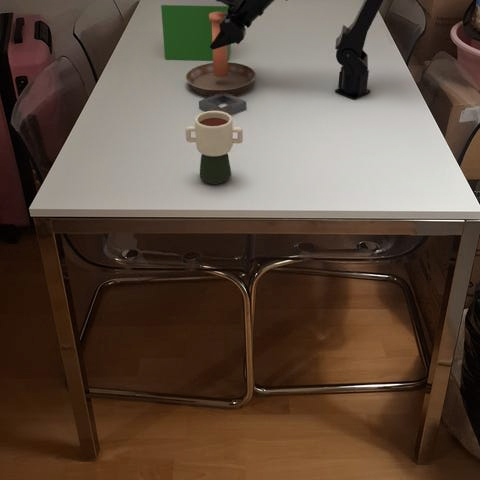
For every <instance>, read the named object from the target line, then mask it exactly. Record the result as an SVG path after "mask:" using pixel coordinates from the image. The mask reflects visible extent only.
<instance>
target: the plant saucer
mask: <svg viewBox="0 0 480 480" xmlns="http://www.w3.org/2000/svg"><path fill="white" fill-rule="evenodd" d="M255 78H256V72H255V70H254V69H252V68H251V67H249V66H247V65H245V64H241V63H237V62H230V61H228V75H227V76H225V77H216V76H214V70H213V62H209V63H205V64H201V65H197V66H195V67H193V68H191V69H190V70H189V71H187V73H186V76H185V80H186V81H187V83H188V85H189V86H190V87H191V88H192V89H193V90H195V91H196V92H197V93H198V94H199V93H200V94H202V95H204V96H209V97H211V96H214V95H216V94H219V93H222V92H226V93H228V94H231V95H233V96H235V95H238V94H240V93H242V92H245V90H247V89H248V88H249V87H250V86H251V85H252V83H253V82H254V80H255Z"/></svg>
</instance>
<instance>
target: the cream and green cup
mask: <svg viewBox="0 0 480 480" xmlns="http://www.w3.org/2000/svg"><path fill="white" fill-rule="evenodd" d="M191 132H195V137H192V134H191ZM243 132H244V131H243V128H241V127H238V126H237V127H235V126H234V127H233V118H232V115H231V116H230V115H229V114H228V113H225V112H222V111H207V112H205V111H203V112H201V113H199V114H197V115H196V116H195V118H194V126H191V125H190V126H185V141H186V142H187V143H195V146H196V149H197V151H198V152H199V153H200V154H201V155H200V164H199V177H200V179H201V180H202V181H203V182H206V183H208V184H211V185H212V184H216V185H218V184H219V185H220V184H221V183H222V184H223V183H225V182H226V181H227V180H229V179H230V178H231V176H232V171H231V170H232V169H231V164H230V159H229V158H230V157H229V154H228V153H230V152H231V150H232V147H233V145H234V144H237V145H238V144H243V141H244V139H243V138H244V136H243V135H244V134H243ZM233 133H237V138H233Z"/></svg>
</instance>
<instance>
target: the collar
mask: <svg viewBox="0 0 480 480" xmlns="http://www.w3.org/2000/svg"><path fill="white" fill-rule="evenodd" d="M225 103H226V104H225ZM223 104H225V106H223V107H222V106H219V105H223ZM227 104H228V105H227ZM198 110H201V111H202V110H203V112H207V111H222V112H225V113H228V114H229V115H231V116H233V114H234V115H236V114H238V112H239V113H241V112H244V111H246V110H247V101H246V100H244V99H241V98H239V97H237V96H235V95H231V94H228V93H226V92H222V93H219V94H216V95H214V96H209V97H206V98H203V99H201V100H199V101H198ZM243 110H244V111H243ZM240 111H241V112H240Z"/></svg>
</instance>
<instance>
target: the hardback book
mask: <svg viewBox="0 0 480 480" xmlns="http://www.w3.org/2000/svg"><path fill="white" fill-rule="evenodd" d="M228 7H229V6H228V5H226V4H224V3H222V2H218V1H216V0H160V8H161V9H160V10H161V23H162V34H163V35H162V36H163V47H164V49H163V50H164V59H165V61H187V62H188V61H194V62H213V50H212V49H211V48H210V45H211V44H212V21H210V20H209V14H210V13H212V12H219V11H220V12H227V13H228ZM231 46H232V44H230V45H227V59H228V61H229V60H230V56H231V53H232V47H231Z"/></svg>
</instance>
